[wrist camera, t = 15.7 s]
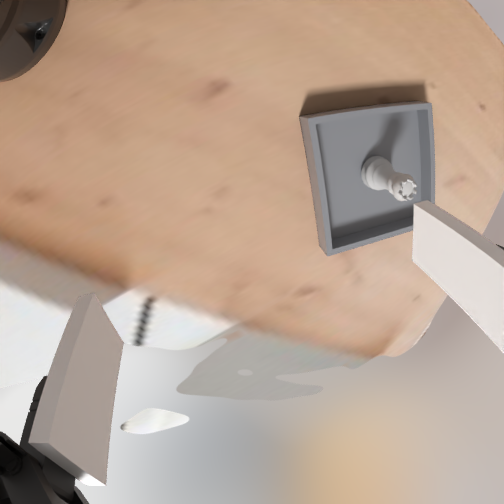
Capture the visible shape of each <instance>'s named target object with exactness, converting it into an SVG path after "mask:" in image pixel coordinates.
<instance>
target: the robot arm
mask: <svg viewBox="0 0 504 504" xmlns="http://www.w3.org/2000/svg"><path fill="white" fill-rule="evenodd" d="M65 9H66V0H0V82H4V81H9V80H12V79H14V78H17V77H19V76H21V75H22V74H24V73H26V72H27V71H28V70H30V69H31V68H32V67H33V66H34V65H36V64H37V63H38V62H39V61H40V60H41V58H42V57H43V56H44V55H45V54H46V53H47V51H48V50H49V48H50V47H51V45H52V44H53V42H54V41H55V39H56V37H57V35H58V33H59V31H60V28H61V26H62V23H63V19H64V15H65ZM412 261H413V262H414V263H415V264H416V265H418V266H419V267H420V268H421V269H422V270H423V271H424V272H425V273H426V274H427V275H428V276H429V277H430V278H431V279H432V280H433V281H434V282H436V283H437V284H438V285H439V286H440V287H441V288H442V289H443V290H444V291H445V292H446V293H447V294H448V295H449V296H450V297H451V298H452V299H453V300H454V301H455V302H456V303H457V304H458V305H459V306H460V307H461V308H462V309H463V310H464V311H465V312H466V313H467V314H468V315H469V316H470V318H471V319H472V320H473V321H474V322H475V323H476V324H477V325H478V326H479V327H480V328H481V329H482V330H483V331H484V332H485V334H486V335H487V336H488V337H489V338H490V339H491V340H492V341H493V342H494V343H495V345H496V346H497V347H498V348H499V349H500V350H501V351H502V352H503V354H504V247H501V246H499V245H497V244H494V243H493V242H492V241H490V240H488V239H487V238H486V237H484V236H483V235H481V234H480V233H479V232H477V231H476V230H474V229H473V228H471V227H470V226H468V225H467V224H465V223H463V222H462V221H460V220H459V219H457V218H456V217H454V216H453V215H451V214H449V213H448V212H446V211H445V210H443V209H441V208H440V207H438V206H436V205H435V204H433V203H431V202H430V201H428V200H426V201H422V202H419V203H415V204H414V219H413V248H412ZM123 344H124V342H123V341H122V339H121V338H120V336H119V334H118V333H117V331H116V329H115V328H114V326H113V324H112V323H111V321H110V319H109V318H108V316H107V314H106V312H105V311H104V309H103V307H102V305H101V304H100V302H99V300H98V298H97V296H96V295H95V293H90V294H86V295H83V296H79V297H78V299H77V301H76V304H75V306H74V308H73V311H72V313H71V316H70V318H69V320H68V323H67V325H66V328H65V330H64V333H63V335H62V338H61V340H60V343H59V346H58V348H57V351H56V354H55V357H54V359H53V362H52V365H51V368H50V371H49V374H48V376H44V377H43V379H42V380H41V382H40V383H39V385H38V386H37V388H36V390H35V393H34V397H33V402H32V403H31V406H30V409H29V410H30V412H28V416H27V419H26V423H25V426H24V430H23V433H22V437H21V441H20V445H18V444H17V443H15V442H14V441H13V440H12V439H11V438H10V437H8V436H7V435H6V434H4V433H3V432H0V504H89V503H88V501H87V500H86V499H85V497H84V495H83V494H82V493H81V491H80V490H79V489H78V488H77V487H76V486H75V478H76V479H78V480H79V481H81V482H82V483H84V484H85V485H98V486H106V478H107V464H108V452H109V441H110V432H111V422H112V415H113V406H114V399H115V393H116V386H117V379H118V373H119V367H120V361H121V355H122V349H123Z"/></svg>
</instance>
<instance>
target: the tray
mask: <svg viewBox="0 0 504 504" xmlns="http://www.w3.org/2000/svg"><path fill="white" fill-rule="evenodd" d="M299 119H300V124H301V130H302V135H303V141H304V146H305V152H306V158H307V164H308V170H309V176H310V183H311V189H312V196H313V202H314V209H315V216H316V224H317V231H318V239H319V246H320V247H321V249H322V250H323V251H324V253H325V254H326V255H327V256H330V255H334V254H337V253H340V252H344V251H347V250H350V249H354V248H357V247H360V246H364V245H367V244H370V243H374V242H377V241H380V240H383V239H387V238H390V237H393V236H396V235H400V234H403V233H406V232H409V231H412V230H413V219H414V204H415V203H419V202H422V201H426V200H428V201H430V202H431V203H433V204H435V148H434V129H433V115H432V104H431V103H428V102H422V101H409V102H398V103H387V104H378V105H369V106H361V107H354V108H347V109H340V110H333V111H327V112H321V113H315V114H309V115H304V116H299ZM373 156H380V157H383V158H384V159H387V160H388V161H389V162H390V163H391V164H392V167H393V169H394V171H396V172H400V173H402V174H409V175H411V176H412V177H413V179H414V181H415V183H416V184H417V187H415V190H417V193H416V194H413V195H412V196H413V199H412V200H409V199H407V201H399V200H397V199H396V198H395V197H394V195H393V194H391V193H390V192H389V190H387V189H383V190H374V189H372V188H369V187H368V186H366V185H365V184H364V182H363V180H362V175H361V171H362V168H363V165H364V163H365V162H366V161H367V160H368V159H369V158H371V157H373Z"/></svg>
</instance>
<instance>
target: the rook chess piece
mask: <svg viewBox="0 0 504 504" xmlns="http://www.w3.org/2000/svg"><path fill="white" fill-rule="evenodd" d="M361 175H362V180H363V182H364V184H365V185H366V186H368V187H369V188H372V189H374V190H383V189H387V190H389V192H390V193H391V194H393V195H394V197H395V198H396V199H397V200H399V201H407V199H409V200H412V199H413V196H412V195H413V194H416V193H417V190H415V187H417V184H416V183H415V181H414V179H413V177H412V176H411V175H409V174H402V173H400V172H396V171H394V169H393V167H392V164H391V163H390V162H389V161H388V160H387V159H384V158H383V157H380V156H373V157H371V158H369V159H368V160H367V161H366V162H365V163H364V165H363V168H362V171H361Z"/></svg>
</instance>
